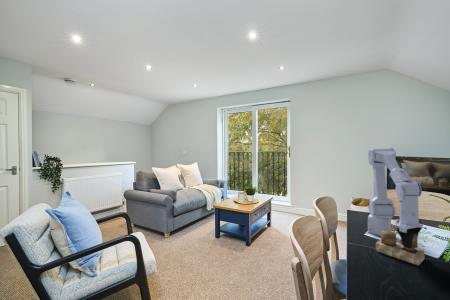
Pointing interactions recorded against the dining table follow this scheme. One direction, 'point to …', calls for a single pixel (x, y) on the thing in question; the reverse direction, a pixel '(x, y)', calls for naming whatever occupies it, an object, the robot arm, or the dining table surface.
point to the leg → (414, 245)
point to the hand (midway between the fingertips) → (409, 245)
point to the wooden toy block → (398, 249)
